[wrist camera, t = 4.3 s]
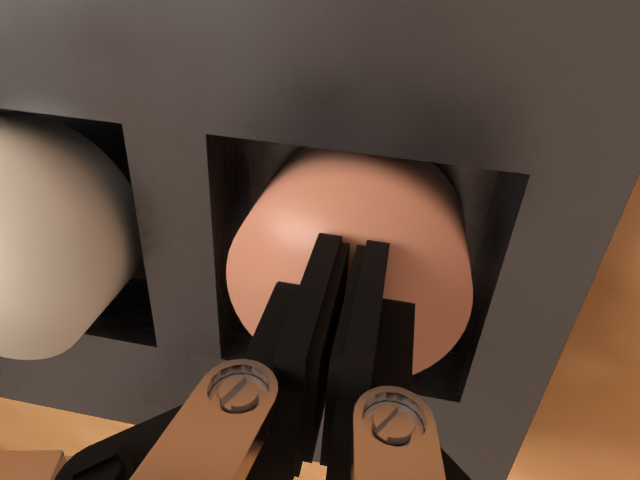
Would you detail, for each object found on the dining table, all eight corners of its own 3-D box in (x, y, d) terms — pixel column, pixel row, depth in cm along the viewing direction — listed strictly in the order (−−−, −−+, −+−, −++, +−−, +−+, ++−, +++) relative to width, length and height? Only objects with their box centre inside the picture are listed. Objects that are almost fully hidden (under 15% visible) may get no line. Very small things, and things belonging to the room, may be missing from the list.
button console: (486, 400, 19) (497, 498, 16) (-164, 282, 23) (-265, 342, 20) (642, -50, 11) (733, -41, 8) (-396, -122, 15) (-635, -136, 12)
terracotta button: (443, 327, 16) (445, 401, 13) (260, 297, 17) (230, 362, 14) (487, 149, 13) (502, 204, 10) (259, 122, 13) (220, 166, 11)
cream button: (157, 306, 16) (107, 377, 13) (-12, 277, 17) (-90, 339, 14) (130, 125, 13) (57, 172, 10) (-78, 98, 13) (-193, 137, 11)
